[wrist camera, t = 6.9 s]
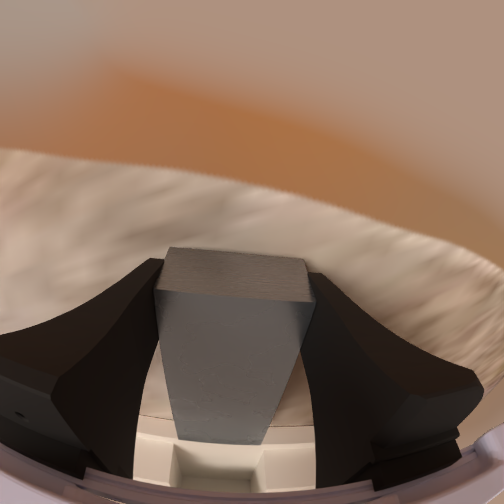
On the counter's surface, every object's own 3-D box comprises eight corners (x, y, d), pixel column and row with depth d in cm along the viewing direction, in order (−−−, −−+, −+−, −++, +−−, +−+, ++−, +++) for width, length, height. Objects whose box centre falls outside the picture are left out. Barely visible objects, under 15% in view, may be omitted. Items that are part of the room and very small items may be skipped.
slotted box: (280, 476, 24) (285, 520, 19) (150, 467, 23) (144, 512, 18) (315, 425, 18) (327, 493, 13) (124, 411, 17) (107, 479, 12)
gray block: (182, 406, 17) (178, 439, 15) (169, 246, 11) (153, 288, 8) (258, 412, 17) (260, 445, 15) (303, 259, 11) (316, 302, 9)
